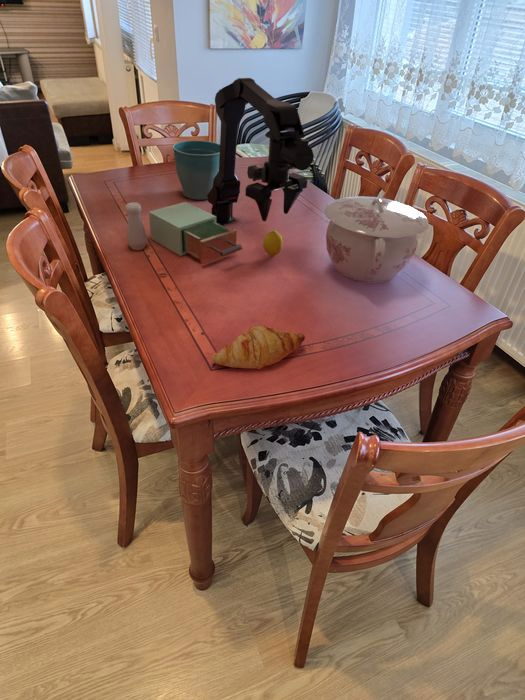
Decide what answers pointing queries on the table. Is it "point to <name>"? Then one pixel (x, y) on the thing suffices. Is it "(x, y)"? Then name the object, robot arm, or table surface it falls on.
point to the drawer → (209, 241)
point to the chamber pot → (372, 236)
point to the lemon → (273, 243)
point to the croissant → (258, 348)
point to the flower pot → (196, 166)
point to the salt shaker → (135, 227)
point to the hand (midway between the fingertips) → (274, 217)
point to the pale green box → (175, 224)
